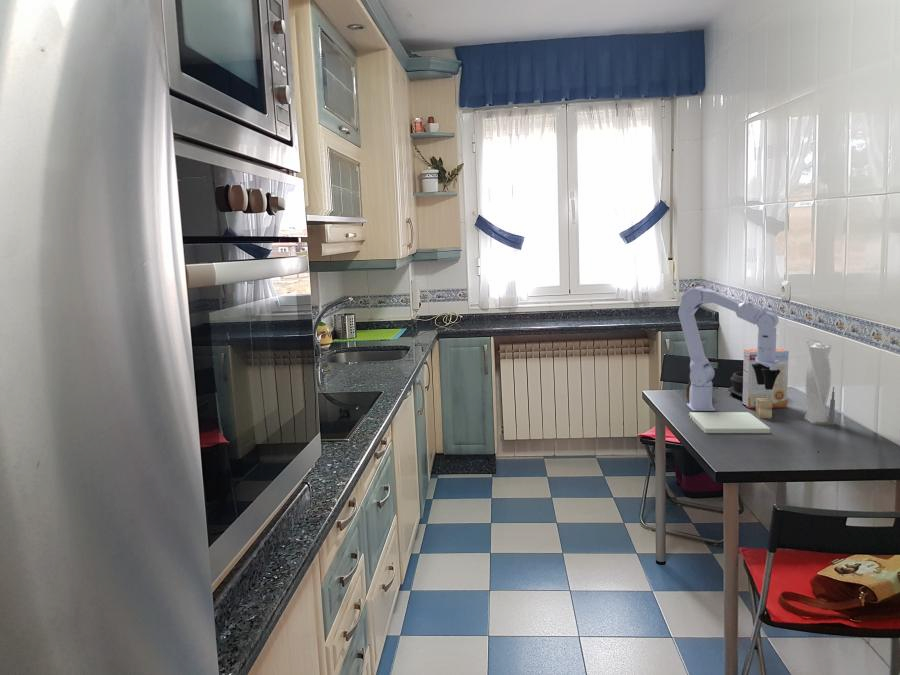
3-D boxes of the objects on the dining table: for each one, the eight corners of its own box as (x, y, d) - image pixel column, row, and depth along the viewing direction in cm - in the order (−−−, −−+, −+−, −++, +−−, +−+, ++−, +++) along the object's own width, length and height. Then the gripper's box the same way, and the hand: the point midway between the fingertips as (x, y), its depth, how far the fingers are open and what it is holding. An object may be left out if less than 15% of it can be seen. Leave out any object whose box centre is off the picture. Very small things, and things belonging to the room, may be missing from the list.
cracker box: (779, 404, 255) (782, 347, 252) (787, 408, 249) (790, 350, 246) (741, 404, 255) (743, 348, 252) (747, 408, 249) (750, 351, 246)
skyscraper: (809, 425, 228) (814, 341, 224) (798, 419, 236) (802, 337, 232) (835, 425, 228) (840, 340, 223) (823, 418, 236) (827, 337, 231)
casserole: (725, 387, 284) (726, 367, 282) (775, 389, 278) (776, 369, 276) (729, 402, 260) (730, 380, 259) (784, 404, 254) (785, 382, 253)
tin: (699, 395, 272) (700, 374, 270) (707, 396, 270) (708, 375, 268) (685, 403, 260) (685, 381, 259) (693, 404, 258) (694, 382, 257)
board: (689, 416, 241) (689, 412, 241) (748, 416, 239) (748, 412, 239) (705, 433, 221) (705, 428, 221) (770, 433, 220) (770, 428, 219)
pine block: (755, 415, 241) (756, 398, 240) (767, 415, 241) (768, 398, 240) (759, 418, 237) (760, 401, 236) (771, 418, 237) (772, 401, 236)
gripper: (787, 351, 228) (785, 391, 230) (770, 344, 242) (769, 382, 244) (765, 351, 228) (763, 391, 230) (749, 344, 243) (748, 382, 245)
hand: (764, 386), depth 237 cm, fingers open, 7 cm apart
